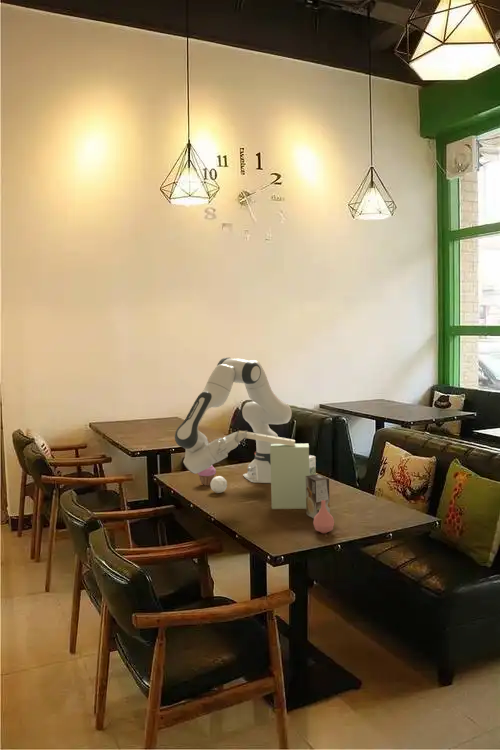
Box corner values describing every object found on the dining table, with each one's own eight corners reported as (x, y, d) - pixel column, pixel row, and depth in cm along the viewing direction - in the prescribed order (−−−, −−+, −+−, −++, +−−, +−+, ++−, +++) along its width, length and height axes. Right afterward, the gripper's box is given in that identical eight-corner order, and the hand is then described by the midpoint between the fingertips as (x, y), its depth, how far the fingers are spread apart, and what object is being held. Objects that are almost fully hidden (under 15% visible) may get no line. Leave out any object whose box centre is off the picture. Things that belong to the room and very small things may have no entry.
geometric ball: (218, 499, 300) (211, 488, 295) (212, 489, 306) (205, 478, 302) (232, 490, 301) (225, 479, 296) (225, 480, 307) (219, 469, 303)
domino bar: (237, 436, 274) (238, 431, 274) (238, 435, 278) (239, 430, 278) (294, 446, 273) (295, 441, 272) (294, 444, 276) (295, 439, 276)
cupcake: (219, 485, 315) (218, 464, 314) (203, 488, 310) (203, 467, 309) (210, 481, 323) (209, 461, 322) (194, 484, 318) (193, 464, 317)
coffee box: (330, 518, 258) (330, 478, 257) (316, 520, 256) (315, 480, 255) (319, 512, 267) (318, 473, 266) (305, 514, 264) (304, 475, 263)
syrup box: (305, 484, 312) (304, 454, 311) (316, 485, 309) (315, 455, 307) (299, 487, 307) (298, 456, 306) (310, 488, 304) (309, 458, 303)
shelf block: (271, 508, 274) (270, 447, 271) (272, 503, 281) (270, 443, 279) (310, 508, 272) (308, 447, 270) (309, 503, 280) (308, 443, 278)
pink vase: (315, 528, 247) (315, 497, 246) (335, 529, 244) (335, 498, 243) (311, 535, 239) (311, 503, 238) (332, 536, 237) (331, 504, 236)
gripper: (212, 447, 266) (241, 430, 265) (218, 438, 287) (244, 422, 285) (220, 460, 267) (249, 443, 265) (225, 450, 287) (252, 435, 286)
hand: (247, 432), depth 275 cm, fingers closed on domino bar, 4 cm apart
